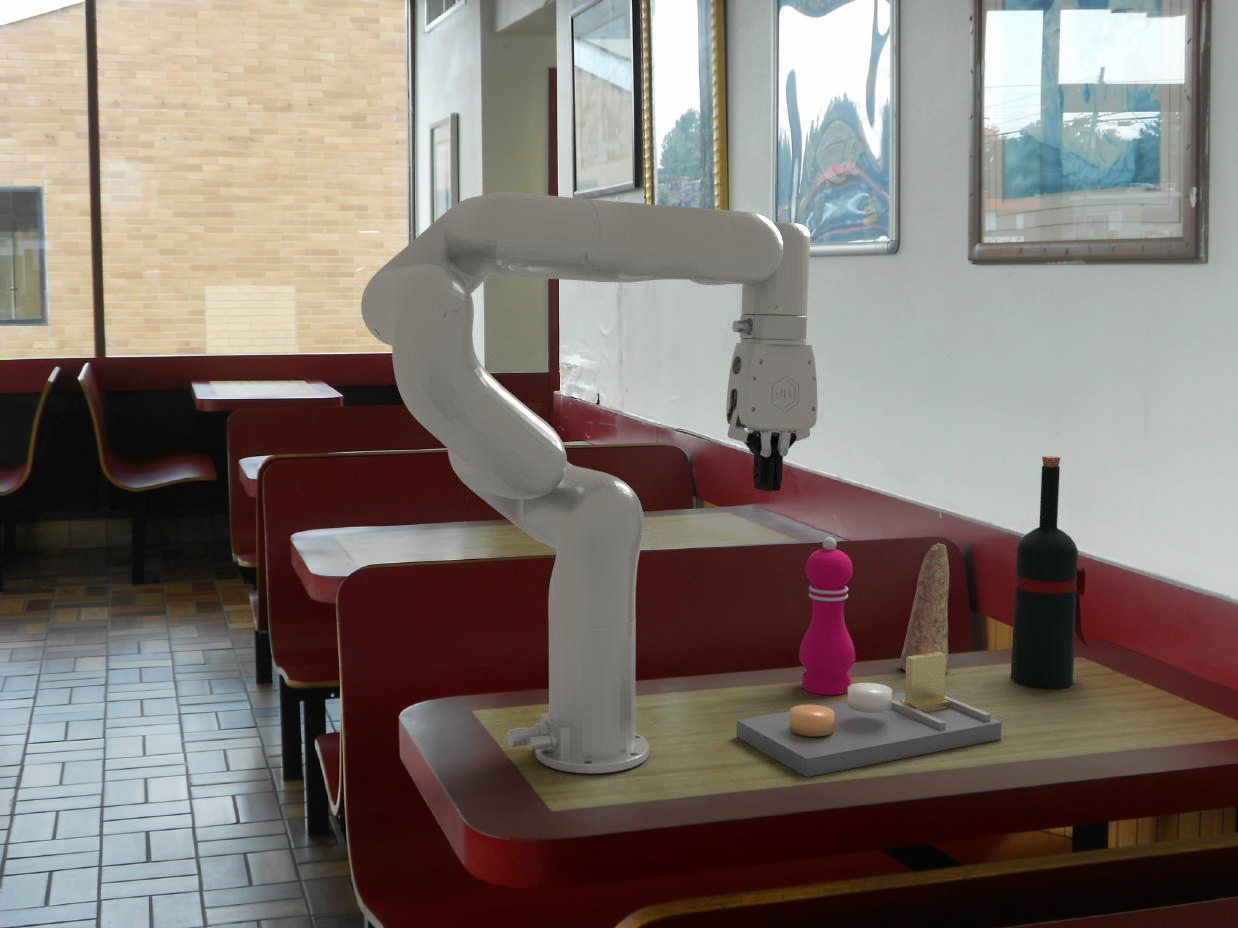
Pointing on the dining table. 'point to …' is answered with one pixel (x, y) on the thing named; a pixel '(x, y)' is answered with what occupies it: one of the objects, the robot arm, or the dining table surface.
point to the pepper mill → (827, 623)
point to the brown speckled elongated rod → (929, 608)
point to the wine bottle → (1046, 596)
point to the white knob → (869, 697)
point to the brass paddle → (926, 682)
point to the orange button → (811, 720)
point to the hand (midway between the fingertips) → (767, 489)
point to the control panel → (869, 735)
